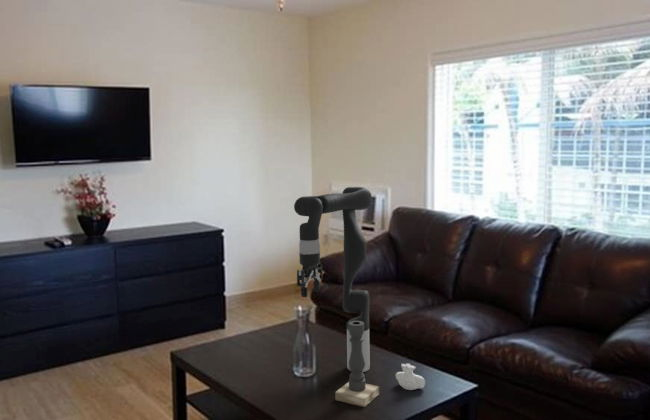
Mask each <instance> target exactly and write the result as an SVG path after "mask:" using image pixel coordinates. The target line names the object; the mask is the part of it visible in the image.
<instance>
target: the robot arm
mask: <svg viewBox="0 0 650 420" xmlns="http://www.w3.org/2000/svg"><path fill="white" fill-rule="evenodd" d="M372 200H373V198H372V193H371V191H370V189H368V188H366V187H360V186H357V187H355V186H350V187H345V188H344V189H343V191H342V193H328V194H321V195H317V196H316V195H308V196H300V197H299V198H297V199H296V200H295V202H294V205H293V209H294V211H295V213H296V214H297V215H298V216H302V217H308V219H307V222H306V221H305V222H303V223H300V225H299V244H298V245H299V246H298V247H299V251H298V252H299V253H298V254H299V255H298V256H299V264H300V265H301V267H302V269H297V270H296V286H297V287H300V294H301V295H300V296H301V298H307V297H308V284H309V283H310V282H311V280H313V281H312V283H313V292H320V287H321V286H320V282H321V280H322V279H324V274H323V272H324V271H323V263H321V252H320V251H321V250H320V249H321V247H320V246H321V245H320V234H319V232H320V231H319V228H320V224H321V219H322V215H323V214H330V213H334V212H340V211H342V219H343V221H342V222H343V289H342V309H343V311H344V312H346V313H350V314H351V313H352V314H353V313H354V314H355V313H358V314H360V315H359V316H357V317H354V318H351V319H349V320H348V321H347V322H346V353H347V354H346V356H347V357H346V358H347V359H346V360H347V361H346V365H347V370H348V371H349V372H351V369H350V367H349V359H350V355H351V342H350V340H349V339H350V338H351V335H350V332H349V322H351V321H362V322H364V332H363V335H362V338H363V339H364V341H363V342H362V353H363V357H364V361H365V367H364V369H363V373H364V372H367V371H369V370H370V367H371V357H370V356H371V355H370V354H371V352H370V351H371V348H370V347H371V346H370V345H371V344H370V303H371V302H370V301H371V298H370V293H369V291H368V290H363V289H352V286H353V282H354V280H355V277H356V275H357V274H358V272H360V270H361V268H362V266H363V265H364V263H365V261H366V259H367V242H366V238H365V236H364V234H363V232H362V230H361V228H360V226H359V225H358V222H357V217H356V211H362V210H366V209H368V208H369V207H370V206H371V204H372Z"/></svg>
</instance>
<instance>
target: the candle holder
mask: <svg viewBox="0 0 650 420" xmlns="http://www.w3.org/2000/svg"><path fill="white" fill-rule="evenodd" d="M349 332H350V335H351V338H350V339H349V340H350V342H351V355H350V359H349V367H350V369H351V371H350V372H351V373H350V374H349V375H348V376H349V378H348V382H349V389H350V390H351V391H355V392H360V391H363V390H365V388H366V385H365V383H366V378H365V374H364V372H363V369H364V367H365V361H364V357H363V353H362V342H363V341H364V339H363V338H362V335H363V332H364V322H362V321H351V322H349Z"/></svg>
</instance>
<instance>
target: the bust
mask: <svg viewBox="0 0 650 420" xmlns="http://www.w3.org/2000/svg"><path fill="white" fill-rule="evenodd" d="M400 367H401V368H402V369H401V370H402V371H398V372H396V373H395V379H396V381H397V382H398V385H399V386H401V387H402V389H404V390H407V391H413V390H417V389H423V388H424V387H425V385H426V380H425V378H424V377H423V376H422V375H418V374H416V373H414V370H415V369H417V367H416V366H414V365H413V364H412V365H411V363H401V366H400Z"/></svg>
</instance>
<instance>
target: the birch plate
mask: <svg viewBox="0 0 650 420" xmlns="http://www.w3.org/2000/svg"><path fill="white" fill-rule="evenodd" d="M365 385H366V388H365V390H363V391H360V392H355V391H351V390H350V389H349V381H348V382H346V383H345V384H344V385H342V386H341V387H340V388H338V389H337V390H336V391H335V392H334V393H335V395H334V396H335V397H334V398H335V401H337V402H338V401H339V402H342V403H347V404H349V405H350V404H351V405H354V406H359V407H363V408H365V407H367V406H368V404H370V403H372V401H373V400H375V399H376V398H377V396H379V395H380V386H378V385H374V384H369V383H366V382H365Z"/></svg>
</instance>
